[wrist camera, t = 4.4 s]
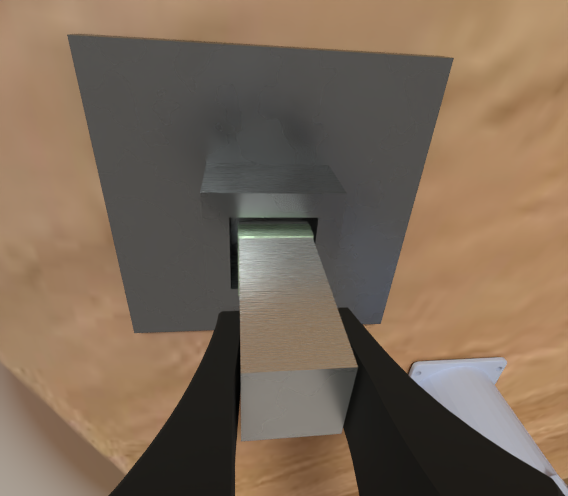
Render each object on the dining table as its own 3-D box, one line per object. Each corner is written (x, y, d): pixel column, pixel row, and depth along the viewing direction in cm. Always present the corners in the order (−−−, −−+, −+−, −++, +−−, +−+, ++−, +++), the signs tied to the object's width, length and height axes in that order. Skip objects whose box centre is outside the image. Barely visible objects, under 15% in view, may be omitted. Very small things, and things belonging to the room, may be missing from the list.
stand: (375, 313, 25) (400, 365, 21) (138, 321, 23) (119, 380, 19) (442, 56, 17) (502, 67, 13) (76, 33, 15) (22, 38, 11)
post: (301, 276, 18) (342, 434, 11) (238, 277, 17) (239, 442, 10) (308, 219, 16) (360, 365, 9) (237, 220, 16) (238, 371, 9)
